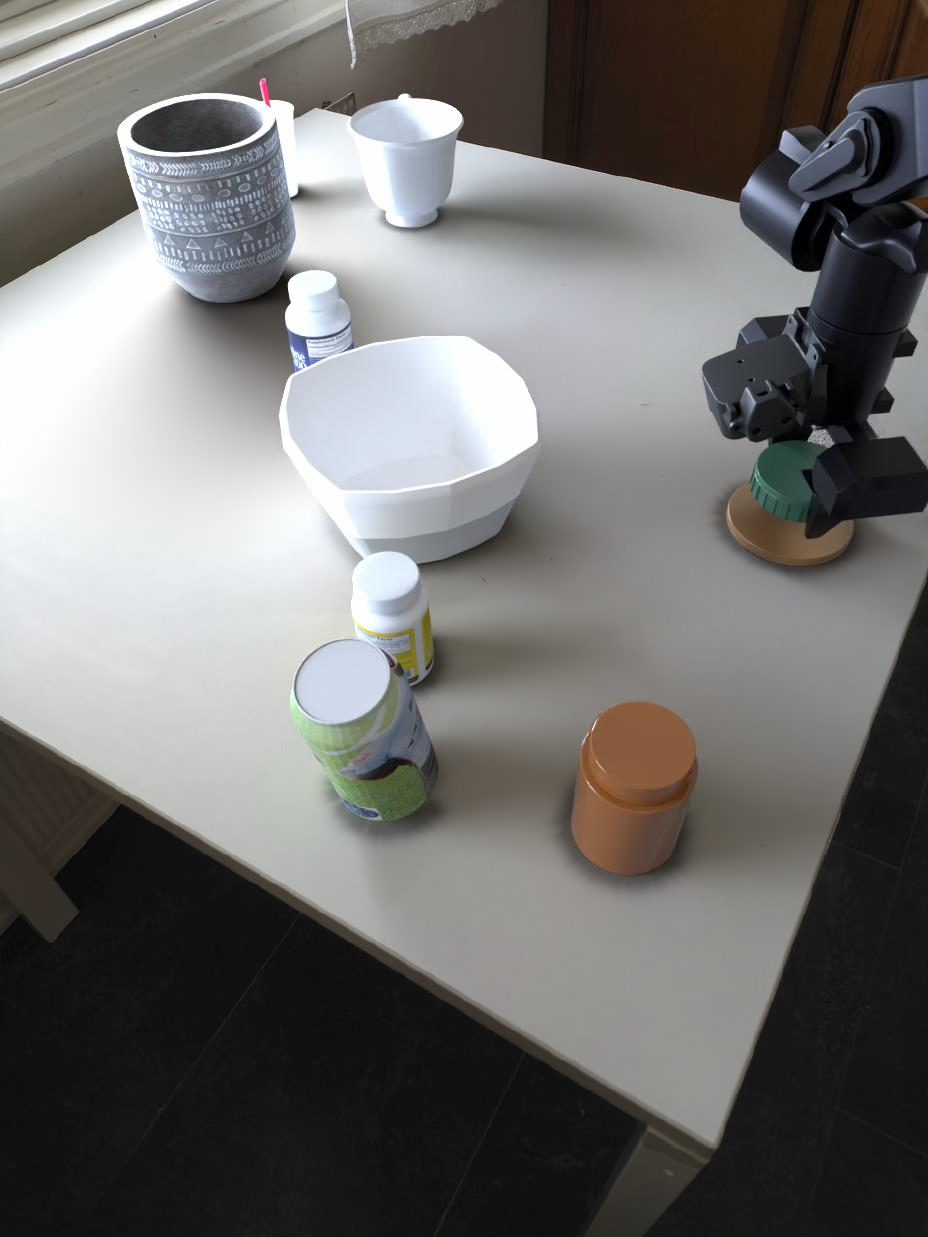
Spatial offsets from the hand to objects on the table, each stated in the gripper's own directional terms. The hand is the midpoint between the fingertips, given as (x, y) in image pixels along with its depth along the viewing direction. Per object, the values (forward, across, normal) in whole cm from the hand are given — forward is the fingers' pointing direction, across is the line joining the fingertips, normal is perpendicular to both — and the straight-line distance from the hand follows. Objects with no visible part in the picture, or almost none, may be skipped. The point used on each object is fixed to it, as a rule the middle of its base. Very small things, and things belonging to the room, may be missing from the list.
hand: (793, 504), depth 66 cm
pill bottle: (+2, -23, -33) cm, 41 cm away
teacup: (+2, -55, -23) cm, 60 cm away
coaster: (+2, 0, 0) cm, 2 cm away
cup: (+2, -62, -37) cm, 73 cm away
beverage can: (+2, +18, -32) cm, 37 cm away
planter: (+2, -44, -42) cm, 61 cm away
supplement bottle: (+2, +9, -30) cm, 31 cm away
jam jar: (+2, +22, -18) cm, 29 cm away
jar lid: (-3, 0, 0) cm, 3 cm away
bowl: (+2, -6, -27) cm, 28 cm away
